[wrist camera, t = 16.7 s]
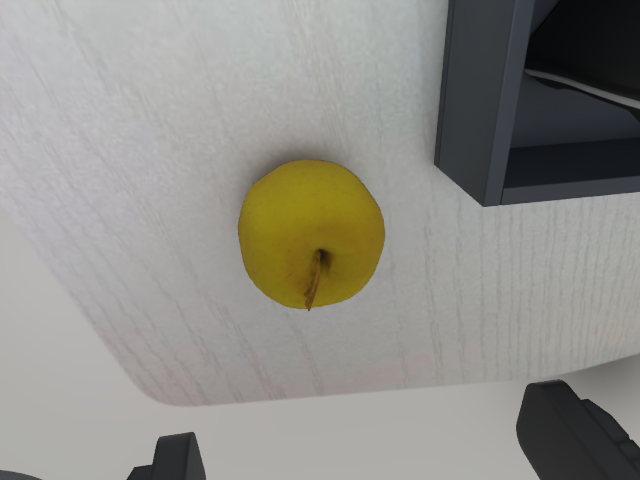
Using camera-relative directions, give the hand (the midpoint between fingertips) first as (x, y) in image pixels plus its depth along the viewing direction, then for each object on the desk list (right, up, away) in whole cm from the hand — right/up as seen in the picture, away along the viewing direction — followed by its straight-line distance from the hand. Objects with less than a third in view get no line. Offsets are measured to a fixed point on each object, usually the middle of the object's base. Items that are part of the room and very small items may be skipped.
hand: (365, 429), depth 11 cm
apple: (-2, +7, +13) cm, 15 cm away
